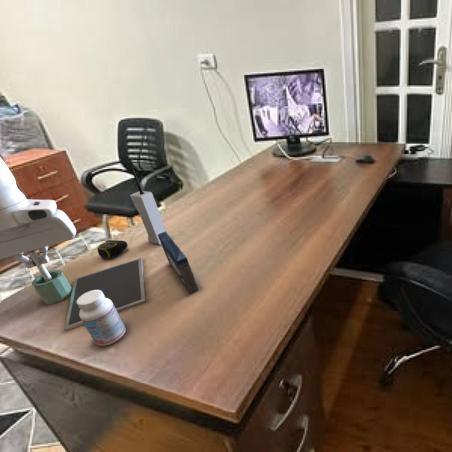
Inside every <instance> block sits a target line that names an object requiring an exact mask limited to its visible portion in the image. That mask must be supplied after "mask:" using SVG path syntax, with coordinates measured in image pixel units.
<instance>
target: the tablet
mask: <svg viewBox="0 0 452 452" xmlns="http://www.w3.org/2000/svg"><path fill="white" fill-rule="evenodd" d="M92 290H100V291H102V293H103V294H104V296H105V298H108V299H110V300H111V301H112V303H113V305H114V306H115V308H116V310H117V312H118V313H120V312H123V311H126V310H129V309H131V308H134V307H137V306H140V305H142V304H143V305H144V304H146V303H147V295H146V284H145V275H144V265H143V258H142V257H140V258H136V259H133V260H130V261H126V262H124V263H121V264H120V263H119V264H117V265H115V266H111V267H108V268H105V269H102V270H98V271H95V272H92V273H89V274H86V275H82V276H79V277H76V278H74V281H73V285H72V293H71V294H70V299H69V304H68V308H67V313H66V318H65V323H64V328H63V329H64V330H65V332H68V331H70V330H73V329H76V328H78V327H81V326H83V325H84V323H83V322H82V320H81V318H80V316H79V312H80V308H79V306H78V304H77V299H78V298H79V297H80V296H81V295H83V294H85V293H87V292H89V291H92ZM84 326H85V325H84Z"/></svg>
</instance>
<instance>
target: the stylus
mask: <svg viewBox="0 0 452 452" xmlns="http://www.w3.org/2000/svg"><path fill="white" fill-rule="evenodd" d="M27 254H28V256H30V257H29V258H30V259H32V260H33V262H34V263H35V265H36V266H35V267H36V268H37V270H38V271H39V273H40V275H42V276H43V278H44V279H45V281H46V282H48V281H51V280H52V277H51V276H50V274H49V271H48V269H47V267H46V266H45V264H41V262H39V260H38V258H39V256H40V255H38V252H37V251H36V249H35V250H32V251H28V252H27Z"/></svg>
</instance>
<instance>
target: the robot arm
mask: <svg viewBox="0 0 452 452" xmlns="http://www.w3.org/2000/svg"><path fill="white" fill-rule="evenodd" d="M76 234H77V229H76V227H75V225H74V223H73V222H72V219H70V217H69V216H68V215H67V213H65V212H64V211H63V210H61V209H58V204H57V202H56V201H55V200H54V199H32V198H31V199H29V198H27V197H26V195H25V194H24V193H23V192H22V191H21V190H20V189H19V187H18V186H17V181H16V178H15V177H14V175H13V173H12V171H11V169H10V168H9V166H8V165H7V164H6V163H5V161H4V159H3V158H2V157H1V156H0V260H3V259H7V258H10V257H13V258H14V260H16V261H17V262H20V263H22V264H24V265H25V266H26V268H27V269H32V268H35V267H36V265H35V263H34V262H33V260H32V259H31V258H30V257H27V256H25V255H24V254H25V253H28V251H32V250H35V251H36V250H38V252H39V253H42V255H38V256H39V258H38V260H39V262H41V264H44V265H46V264H49V263H50V258H49V256H48V251H49V250H48V249H49V247H50V246H53V245H57V244H61V243H65V242H67V241H72V240H74V239H75V237H76Z"/></svg>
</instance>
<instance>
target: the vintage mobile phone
mask: <svg viewBox="0 0 452 452" xmlns="http://www.w3.org/2000/svg"><path fill="white" fill-rule="evenodd" d="M130 170H131V172H132V175H133V178H134V180H135V183H136V186H137V188H138V191H136V192H134V193H132V194H130V199H131V201H132V202H133V203H132V204H134V207H135V209H136V211H137V212H138V214H139V216H140V219H141V221H142V224H143V226H144V228H145V231H146V233H147V240H148V242H149V243H150V244H155V245H160V246H162V245H161V242H160V240H159V237H158V234H160V233H163V232H167V229H166V226H165V224H164V221H163V218H162V216H161V214H160V211H159V208H158V205H157V202H156V200H155V197H154V194H153V193H152V192H151V191H146V190H143V188H142V186H141V183H140V180H139V179H138V177H137V174H136V172H135V169H134V167H130Z"/></svg>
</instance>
